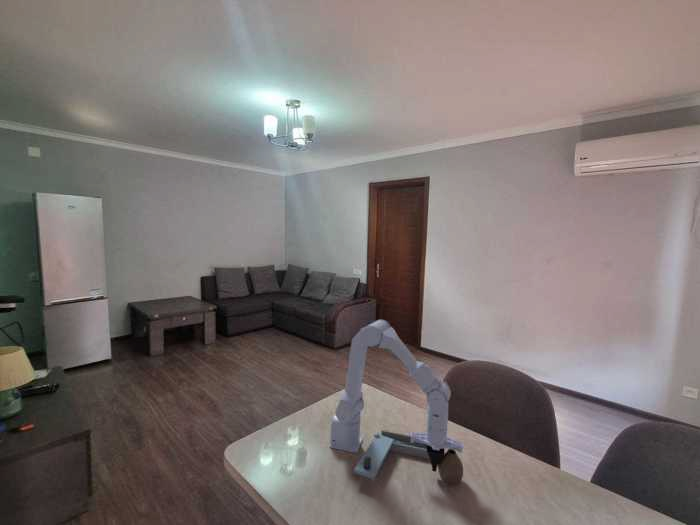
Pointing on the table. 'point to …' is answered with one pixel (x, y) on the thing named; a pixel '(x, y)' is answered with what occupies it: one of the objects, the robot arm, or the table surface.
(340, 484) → the table surface
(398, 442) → the grey u-channel
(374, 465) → the cover
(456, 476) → the vase
